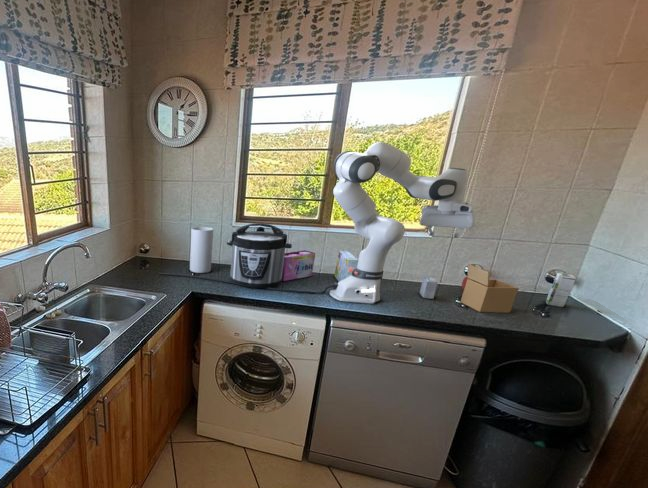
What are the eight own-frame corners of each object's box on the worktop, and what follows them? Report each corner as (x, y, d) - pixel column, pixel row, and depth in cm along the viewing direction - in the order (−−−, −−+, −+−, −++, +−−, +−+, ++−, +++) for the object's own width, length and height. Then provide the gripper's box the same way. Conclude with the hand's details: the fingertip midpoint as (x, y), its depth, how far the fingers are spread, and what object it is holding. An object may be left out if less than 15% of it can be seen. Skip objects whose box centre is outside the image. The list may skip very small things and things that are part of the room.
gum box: (281, 281, 219) (285, 257, 214) (271, 278, 226) (274, 254, 221) (312, 276, 230) (316, 252, 225) (301, 272, 237) (304, 250, 232)
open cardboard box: (479, 311, 179) (487, 287, 175) (460, 301, 191) (467, 278, 187) (510, 312, 178) (518, 288, 174) (488, 302, 190) (496, 279, 186)
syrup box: (545, 301, 192) (556, 272, 187) (561, 304, 189) (573, 274, 184) (547, 304, 188) (558, 275, 183) (564, 307, 185) (576, 277, 179)
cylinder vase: (212, 269, 243) (215, 227, 233) (207, 274, 232) (210, 231, 223) (192, 267, 247) (194, 226, 238) (187, 272, 236) (189, 229, 227)
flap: (488, 285, 175) (487, 286, 175) (468, 277, 187) (467, 277, 187) (489, 272, 172) (488, 272, 172) (468, 264, 184) (467, 264, 184)
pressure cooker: (215, 280, 221) (219, 222, 209) (248, 272, 237) (254, 217, 225) (260, 294, 199) (267, 230, 187) (293, 284, 215) (302, 224, 203)
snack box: (353, 288, 209) (359, 260, 204) (342, 287, 210) (347, 259, 205) (343, 277, 229) (349, 250, 223) (333, 276, 230) (338, 250, 224)
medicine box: (433, 299, 194) (438, 282, 191) (422, 298, 196) (427, 281, 193) (429, 294, 201) (433, 277, 198) (418, 293, 203) (423, 276, 200)
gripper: (420, 206, 184) (415, 235, 190) (476, 208, 171) (469, 240, 176) (424, 203, 188) (419, 233, 194) (479, 205, 175) (472, 237, 180)
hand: (443, 236), depth 185 cm, fingers open, 8 cm apart
